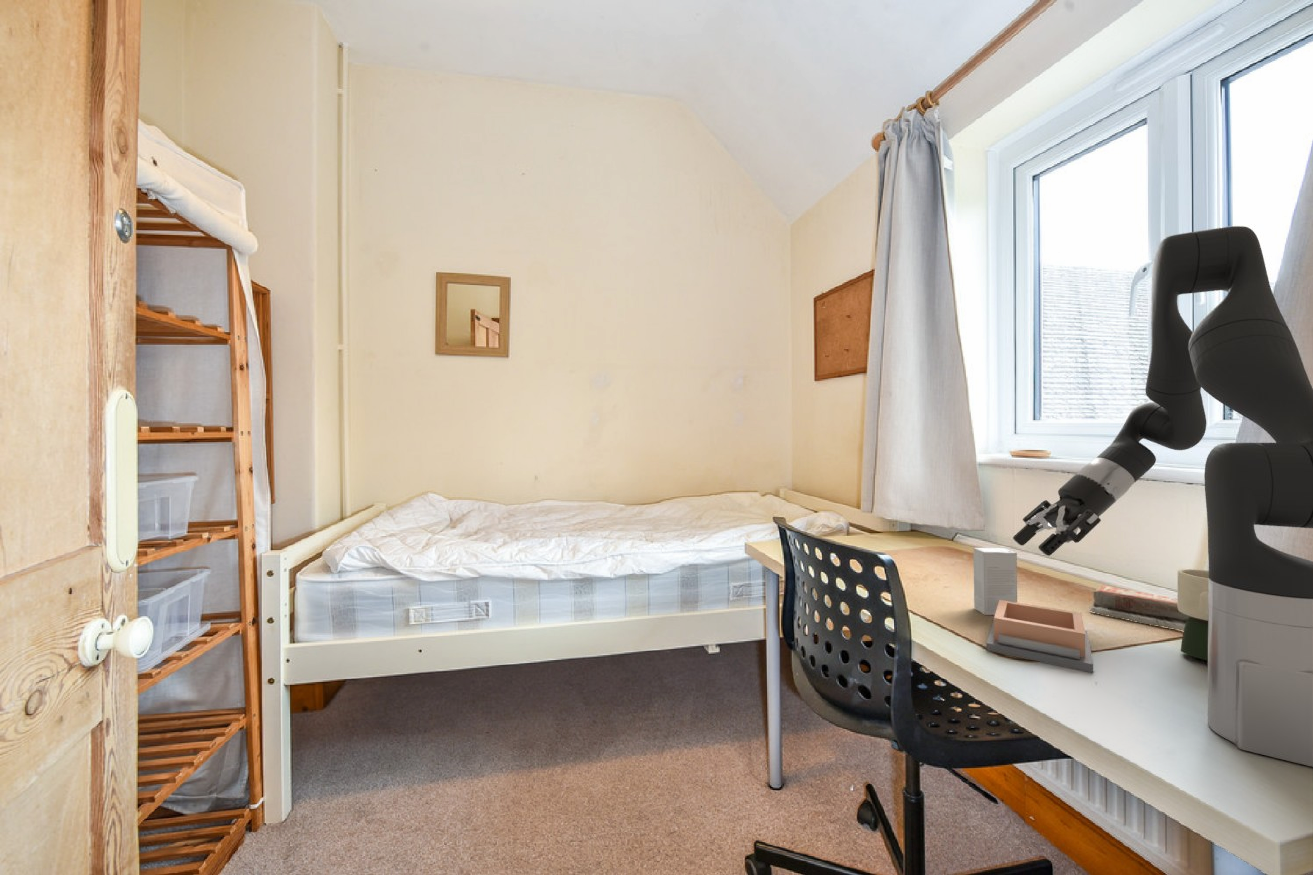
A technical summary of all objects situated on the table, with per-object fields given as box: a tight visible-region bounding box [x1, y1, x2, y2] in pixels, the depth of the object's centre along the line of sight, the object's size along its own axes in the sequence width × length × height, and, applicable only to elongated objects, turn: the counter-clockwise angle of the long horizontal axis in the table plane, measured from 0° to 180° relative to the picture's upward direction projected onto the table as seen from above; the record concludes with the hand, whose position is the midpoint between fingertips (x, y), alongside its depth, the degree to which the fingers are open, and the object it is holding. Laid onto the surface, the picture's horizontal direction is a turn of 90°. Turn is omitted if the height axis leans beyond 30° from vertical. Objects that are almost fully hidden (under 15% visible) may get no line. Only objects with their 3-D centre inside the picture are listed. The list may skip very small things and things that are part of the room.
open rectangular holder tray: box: [986, 600, 1094, 674], centre depth 86 cm, size 16×13×5 cm
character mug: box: [1176, 568, 1209, 664], centre depth 80 cm, size 11×7×13 cm, turn 127°
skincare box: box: [973, 547, 1018, 616], centre depth 101 cm, size 6×4×12 cm
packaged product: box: [1089, 585, 1191, 631], centre depth 97 cm, size 18×5×10 cm
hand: (1029, 546), depth 100 cm, fingers open, 8 cm apart
